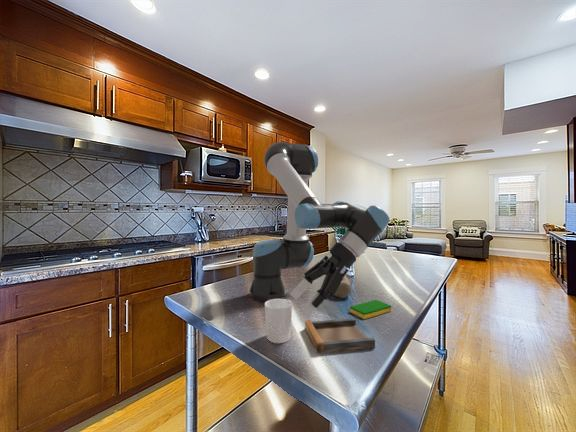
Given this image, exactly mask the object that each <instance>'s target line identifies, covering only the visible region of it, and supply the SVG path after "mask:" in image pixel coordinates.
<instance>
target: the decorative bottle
mask: <svg viewBox="0 0 576 432" xmlns="http://www.w3.org/2000/svg"><path fill="white" fill-rule="evenodd" d="M353 283H354V282H353V280H352V277H351V275H350V274H348V273H346V275H345V276H344V277H343V279H342V281H341V283H340V285H339V287H338V289H337V291H336V292H335V294H334V296H336V297H337V298H339V299H345V298H347V297H349V296H350V294H351V292H352V285H353Z"/></svg>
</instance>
